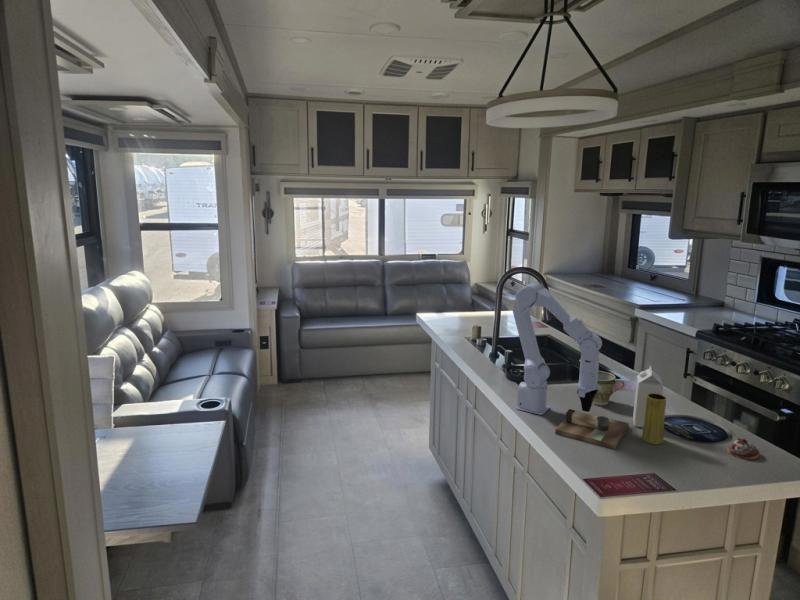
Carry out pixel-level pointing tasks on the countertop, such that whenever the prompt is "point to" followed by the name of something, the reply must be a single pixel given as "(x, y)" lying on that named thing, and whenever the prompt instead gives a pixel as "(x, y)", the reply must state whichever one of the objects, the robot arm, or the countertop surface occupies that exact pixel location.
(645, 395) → the milk carton
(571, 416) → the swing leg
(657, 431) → the vase
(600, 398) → the ceramic cup
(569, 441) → the countertop surface
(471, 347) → the countertop surface
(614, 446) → the wooden board
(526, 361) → the robot arm
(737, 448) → the pastry
